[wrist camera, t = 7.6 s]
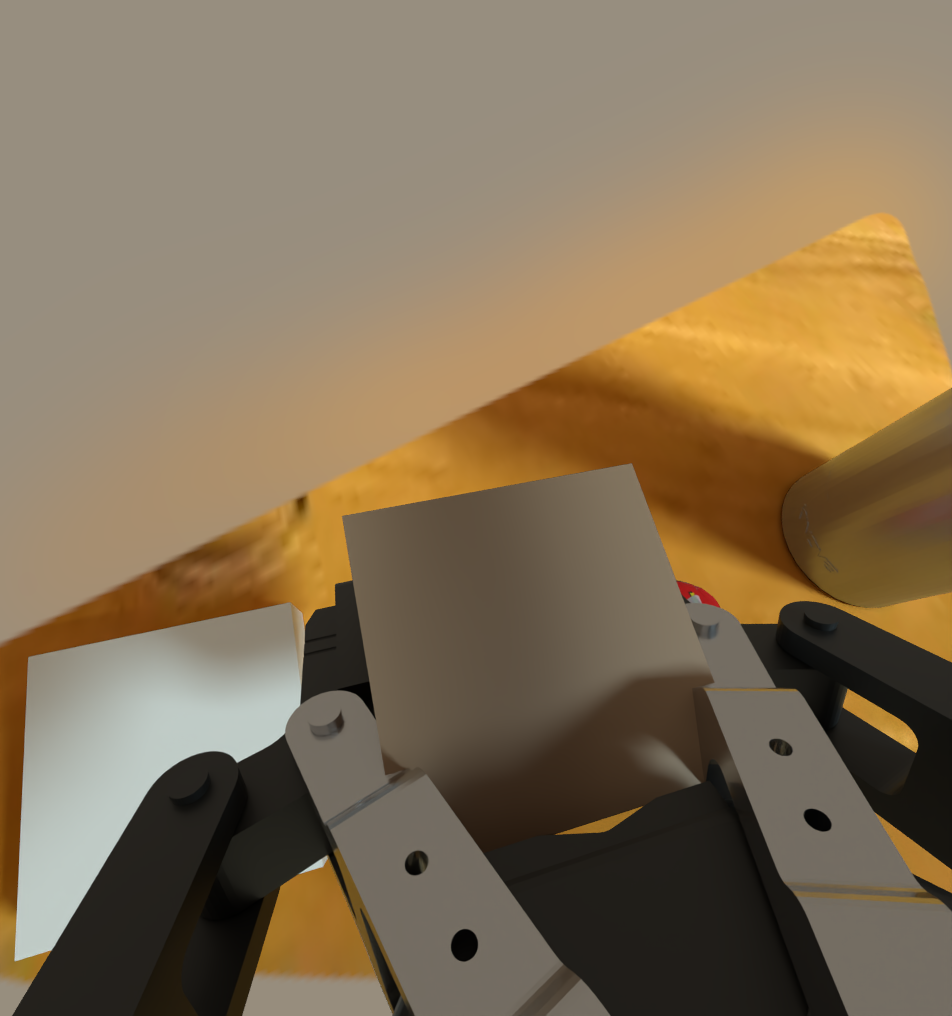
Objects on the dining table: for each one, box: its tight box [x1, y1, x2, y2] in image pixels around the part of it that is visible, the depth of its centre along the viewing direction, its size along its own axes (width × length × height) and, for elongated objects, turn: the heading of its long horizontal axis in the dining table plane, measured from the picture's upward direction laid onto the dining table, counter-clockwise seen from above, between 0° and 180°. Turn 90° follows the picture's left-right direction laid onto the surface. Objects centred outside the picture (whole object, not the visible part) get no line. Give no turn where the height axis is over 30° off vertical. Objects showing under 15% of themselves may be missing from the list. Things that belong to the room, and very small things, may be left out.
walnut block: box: [342, 463, 715, 853], centre depth 12 cm, size 5×5×9 cm
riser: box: [15, 602, 328, 961], centre depth 23 cm, size 11×11×3 cm
